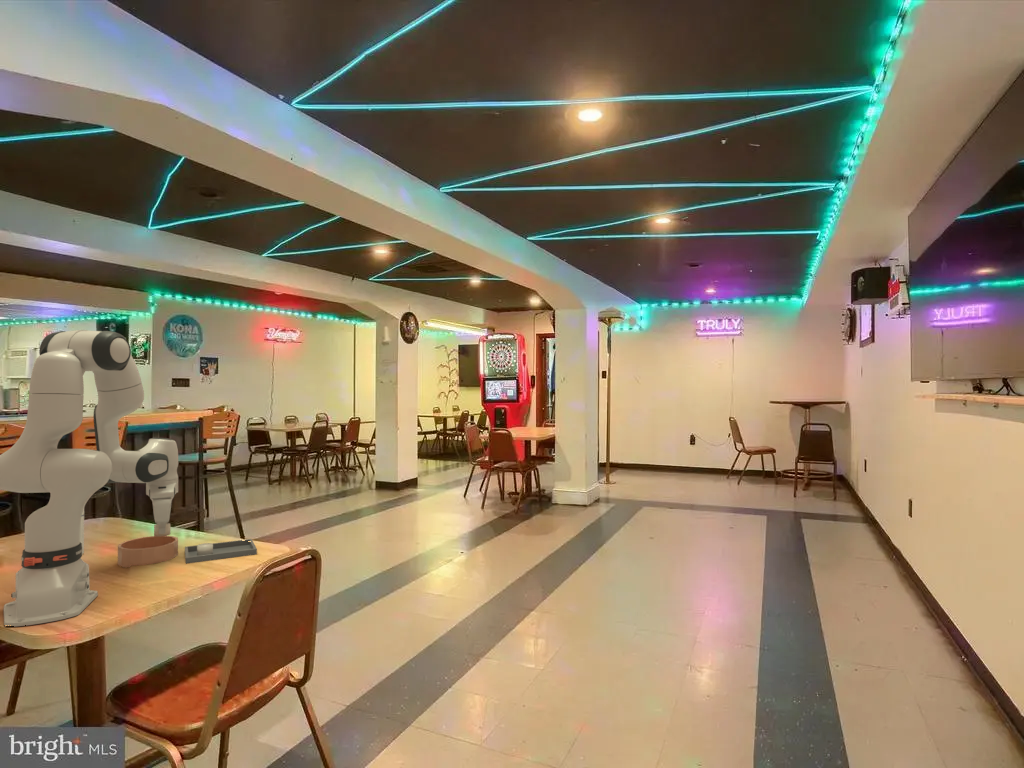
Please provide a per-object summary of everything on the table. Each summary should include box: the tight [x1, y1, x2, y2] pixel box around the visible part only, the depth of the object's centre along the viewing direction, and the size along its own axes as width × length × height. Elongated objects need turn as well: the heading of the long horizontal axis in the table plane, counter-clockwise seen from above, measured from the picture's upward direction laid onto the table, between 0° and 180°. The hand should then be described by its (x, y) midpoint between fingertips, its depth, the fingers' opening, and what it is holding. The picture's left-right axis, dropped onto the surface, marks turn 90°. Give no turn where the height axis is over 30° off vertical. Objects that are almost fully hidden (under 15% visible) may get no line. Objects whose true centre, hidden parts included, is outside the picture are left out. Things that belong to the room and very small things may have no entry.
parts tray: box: [184, 538, 258, 565], centre depth 188 cm, size 14×20×2 cm
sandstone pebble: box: [153, 522, 171, 537], centre depth 186 cm, size 4×4×3 cm
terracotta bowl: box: [117, 535, 179, 568], centre depth 183 cm, size 16×16×6 cm
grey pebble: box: [197, 542, 213, 556], centre depth 186 cm, size 4×4×3 cm
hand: (162, 531), depth 185 cm, fingers closed on sandstone pebble, 4 cm apart
